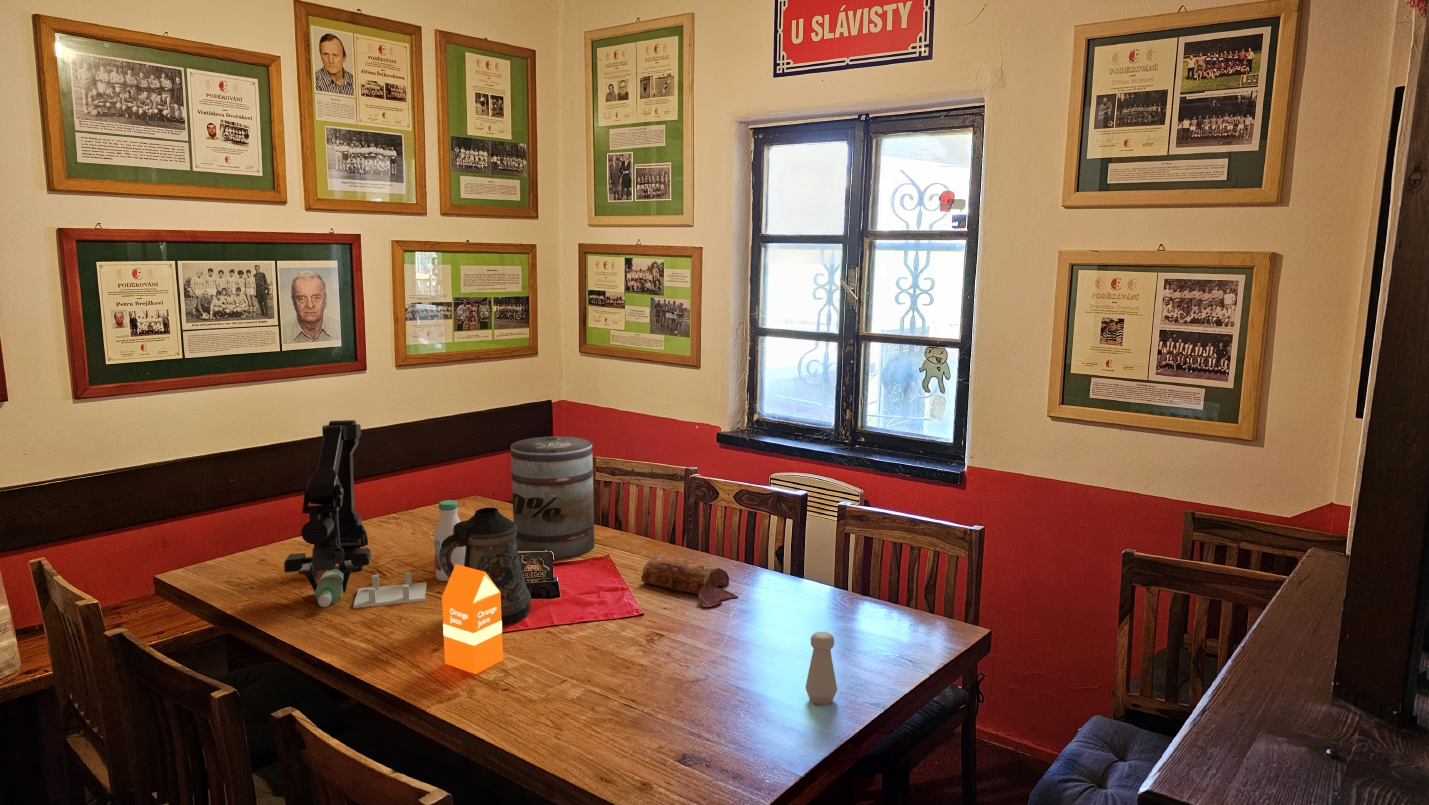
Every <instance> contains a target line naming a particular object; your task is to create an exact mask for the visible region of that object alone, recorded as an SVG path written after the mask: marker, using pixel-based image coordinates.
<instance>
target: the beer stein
mask: <svg viewBox="0 0 1429 805" xmlns="http://www.w3.org/2000/svg"><path fill="white" fill-rule="evenodd" d="M517 529H518V528H517V525H516V524H515V523H514V522H513V520H511V518H508V517H507V516H505V515H503V514H502V513H501V512H500V511H499V509H498V508H496V507H483V508H479V509H477V510H475V512H474V514H473V515H472V516H471V517H470V518H469V519H467V520H462V521H461V522H459V523H457V524H456V525H454V528H453V535H451V536H448V537H447V538H446V539H445V540H444V541H443V542H442V544H441V548H440V552H439V560H440V565H441V567H442V569H443V571H444V572H445V574H446V575H447V576H448V577H449V578H450V577H451V574H452V572H453V570H454V566H453V564H452V563H451V559H450V558H451V554H452V551H453V550H454V549H455V548H456V547H464V546H466V552H465V561H464V567H468V568H472V569H476V570H480V571H483V572H486V574H487V575H488V576H489V578H490V579H491V580H492V582H493V583H494V584H495V586H496V587H497V588H498V590H499V591H500V592H501V593H500V596H501V620H502V627H506V626H510V625H513V624H515V623H519V622H521V621H523V620H524V619H526V618H527V617H528V615H529V614H530V608H531V602H532V595H531V592H530V591H529V589H528V587H527V583H526V581H525V576H524V574H523V571H522V565H521V562H520V556H519V555H518V550H517V545H516V540H515V537H516V535H517ZM504 625H505V626H504Z"/></svg>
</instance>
